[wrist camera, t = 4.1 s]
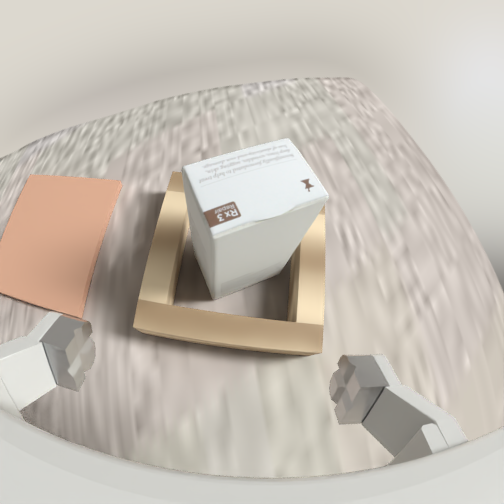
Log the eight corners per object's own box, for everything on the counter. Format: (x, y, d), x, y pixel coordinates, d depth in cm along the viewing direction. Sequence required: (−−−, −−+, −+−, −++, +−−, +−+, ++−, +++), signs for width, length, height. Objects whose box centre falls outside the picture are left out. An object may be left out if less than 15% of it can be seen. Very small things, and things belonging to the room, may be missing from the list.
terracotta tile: (81, 318, 21) (77, 316, 20) (-10, 289, 20) (-15, 286, 19) (122, 185, 26) (120, 180, 25) (33, 178, 25) (30, 174, 24)
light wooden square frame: (308, 355, 22) (322, 352, 19) (142, 333, 21) (132, 327, 18) (313, 213, 27) (324, 195, 24) (175, 191, 26) (172, 171, 24)
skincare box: (258, 232, 26) (290, 129, 15) (281, 277, 24) (336, 194, 13) (191, 257, 24) (177, 158, 13) (212, 306, 23) (212, 238, 12)
